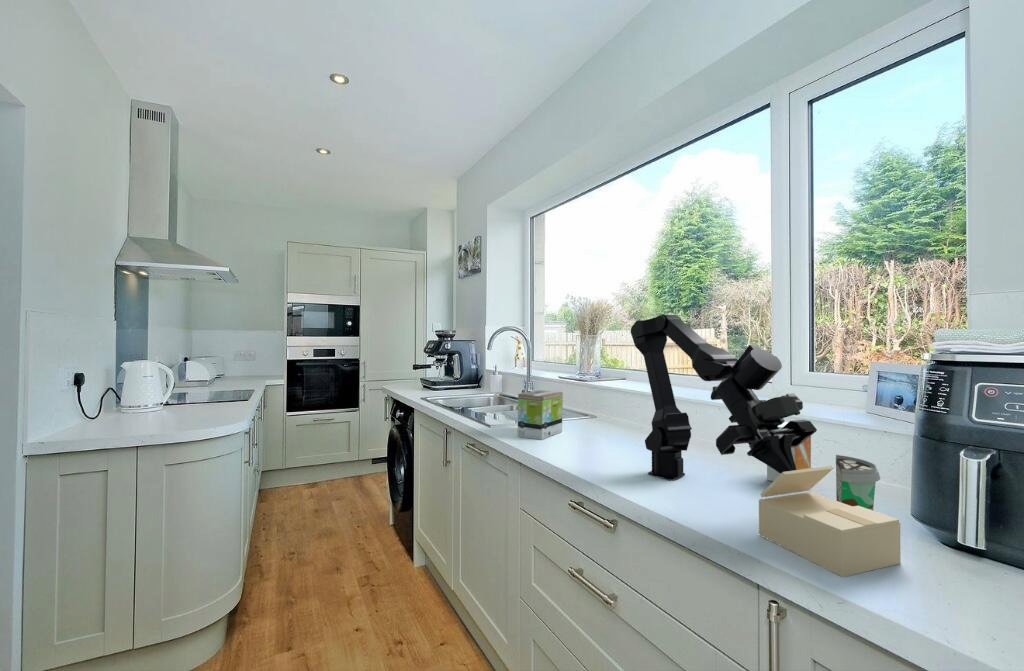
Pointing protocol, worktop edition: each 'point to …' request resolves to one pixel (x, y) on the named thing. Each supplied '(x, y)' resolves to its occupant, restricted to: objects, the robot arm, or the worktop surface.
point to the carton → (831, 532)
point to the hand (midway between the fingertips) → (795, 479)
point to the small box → (795, 457)
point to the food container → (855, 481)
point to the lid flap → (796, 481)
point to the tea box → (540, 414)
